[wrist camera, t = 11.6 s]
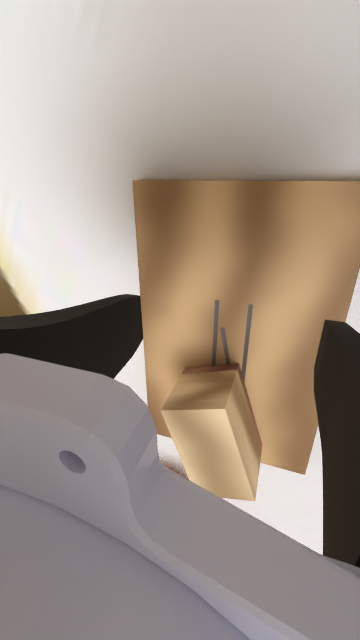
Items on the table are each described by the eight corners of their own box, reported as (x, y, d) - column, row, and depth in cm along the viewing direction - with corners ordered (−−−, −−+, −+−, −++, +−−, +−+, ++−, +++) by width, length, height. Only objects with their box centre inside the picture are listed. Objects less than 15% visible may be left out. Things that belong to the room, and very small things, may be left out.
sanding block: (238, 363, 22) (225, 408, 18) (262, 445, 25) (254, 501, 21) (184, 368, 24) (160, 410, 20) (211, 443, 27) (195, 494, 23)
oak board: (377, 181, 16) (382, 181, 15) (304, 462, 26) (304, 475, 25) (140, 179, 20) (132, 180, 19) (154, 423, 30) (149, 432, 29)
